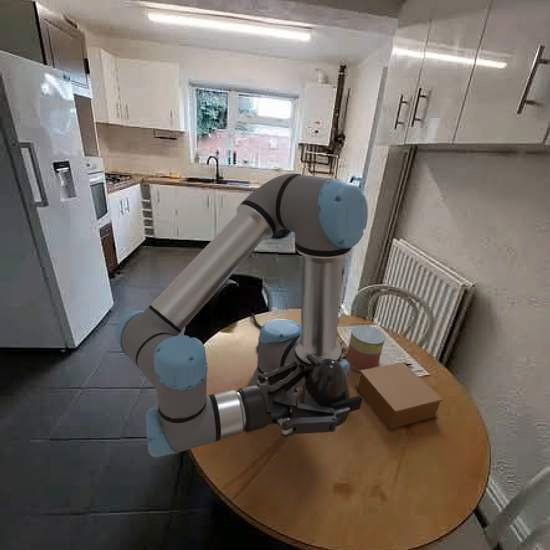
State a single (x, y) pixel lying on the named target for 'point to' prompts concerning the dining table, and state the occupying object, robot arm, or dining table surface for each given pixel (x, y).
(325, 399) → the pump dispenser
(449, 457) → the dining table surface
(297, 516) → the dining table surface
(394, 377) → the takeaway box
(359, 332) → the canned food
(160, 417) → the robot arm
